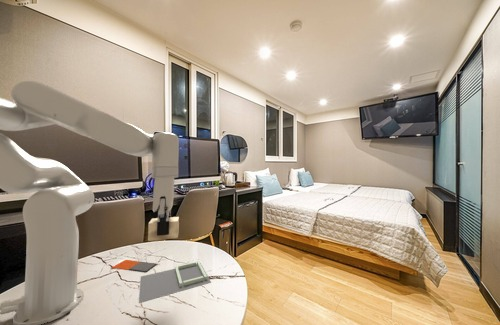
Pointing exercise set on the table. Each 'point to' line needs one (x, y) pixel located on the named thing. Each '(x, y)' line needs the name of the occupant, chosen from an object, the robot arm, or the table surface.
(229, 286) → the table surface
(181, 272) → the mat
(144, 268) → the phone
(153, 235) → the card box
